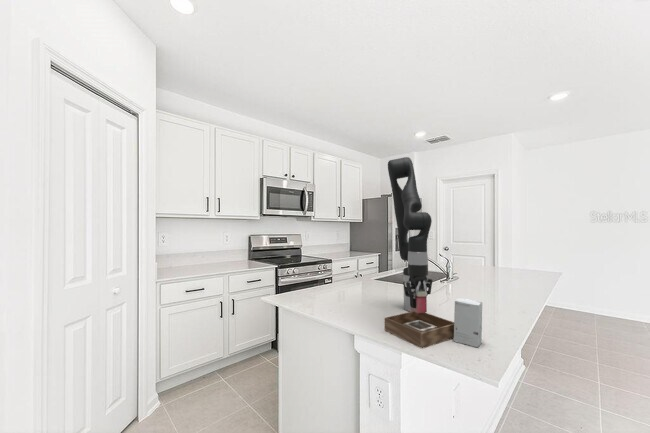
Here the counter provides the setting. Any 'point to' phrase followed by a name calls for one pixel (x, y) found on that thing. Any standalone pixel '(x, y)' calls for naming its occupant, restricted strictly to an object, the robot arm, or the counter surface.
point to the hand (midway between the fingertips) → (418, 306)
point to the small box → (420, 302)
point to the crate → (420, 328)
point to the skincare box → (468, 322)
